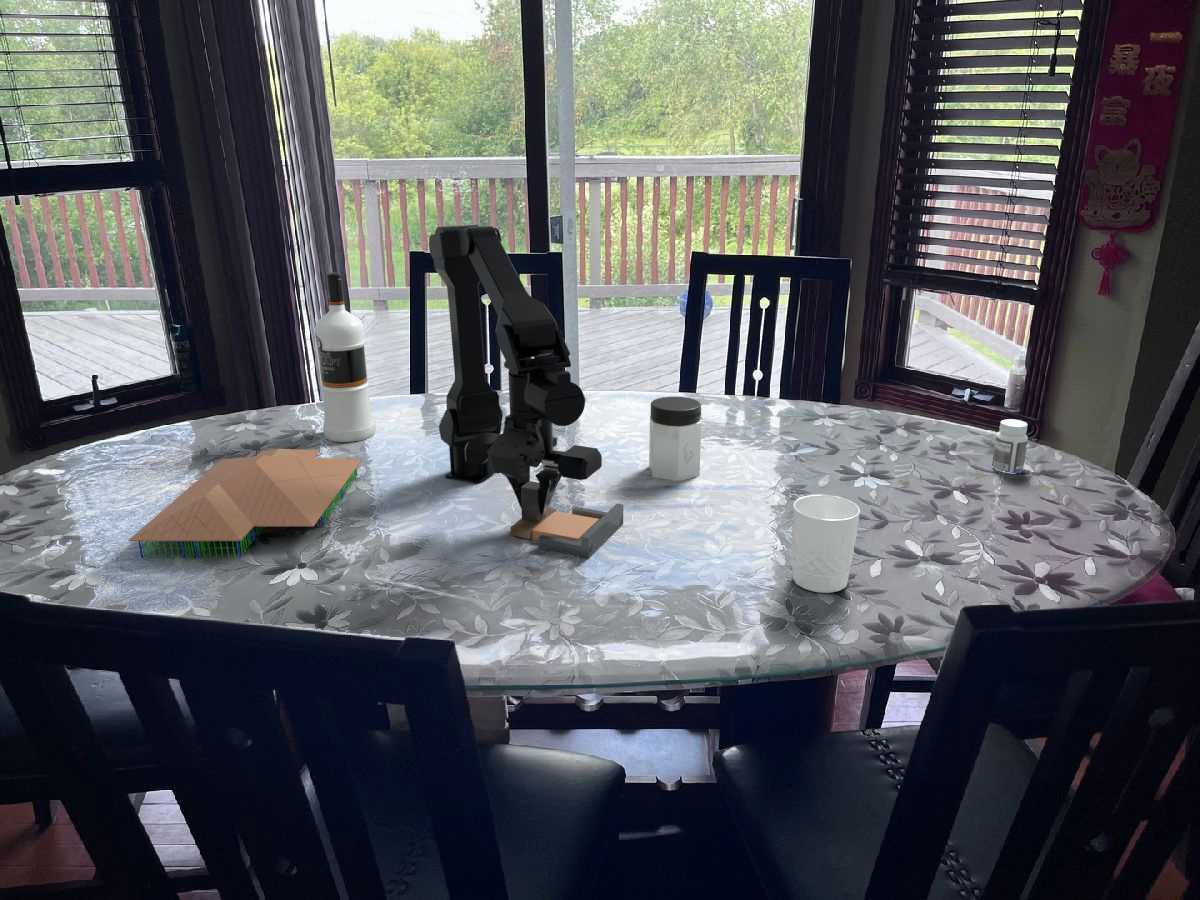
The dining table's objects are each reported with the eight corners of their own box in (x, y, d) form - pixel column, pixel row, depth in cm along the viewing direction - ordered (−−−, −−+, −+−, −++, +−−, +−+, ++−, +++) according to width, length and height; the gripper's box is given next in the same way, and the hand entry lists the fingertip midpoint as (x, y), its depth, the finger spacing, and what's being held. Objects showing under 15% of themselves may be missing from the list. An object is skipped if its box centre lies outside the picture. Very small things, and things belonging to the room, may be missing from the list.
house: (368, 471, 148) (363, 425, 146) (305, 562, 117) (298, 505, 115) (231, 472, 149) (224, 425, 146) (132, 562, 118) (121, 505, 115)
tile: (532, 540, 123) (532, 529, 122) (555, 521, 129) (554, 511, 128) (578, 549, 120) (577, 538, 120) (599, 529, 126) (599, 518, 126)
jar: (667, 486, 141) (669, 414, 137) (637, 470, 147) (638, 401, 143) (710, 474, 145) (713, 404, 141) (680, 460, 152) (682, 393, 148)
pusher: (510, 534, 123) (509, 493, 121) (537, 513, 130) (537, 473, 128) (529, 539, 122) (529, 497, 120) (556, 516, 129) (555, 477, 127)
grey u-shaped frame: (538, 548, 120) (537, 528, 119) (575, 515, 130) (575, 496, 129) (588, 558, 117) (588, 537, 116) (623, 523, 127) (623, 504, 126)
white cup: (780, 567, 115) (785, 495, 111) (840, 564, 115) (846, 493, 112) (798, 597, 107) (804, 521, 104) (862, 594, 108) (870, 518, 104)
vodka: (380, 440, 162) (364, 274, 152) (327, 447, 159) (308, 278, 148) (371, 426, 170) (356, 267, 160) (321, 432, 167) (302, 270, 156)
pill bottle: (1016, 466, 148) (1024, 418, 145) (1026, 477, 144) (1034, 427, 141) (987, 465, 149) (994, 417, 146) (996, 476, 144) (1003, 426, 141)
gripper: (439, 414, 117) (446, 522, 122) (566, 432, 110) (568, 546, 115) (483, 392, 126) (488, 494, 132) (603, 407, 119) (603, 514, 125)
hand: (534, 512), depth 126 cm, fingers closed on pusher, 2 cm apart
